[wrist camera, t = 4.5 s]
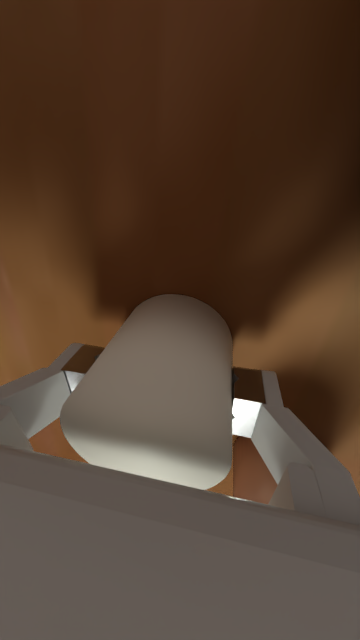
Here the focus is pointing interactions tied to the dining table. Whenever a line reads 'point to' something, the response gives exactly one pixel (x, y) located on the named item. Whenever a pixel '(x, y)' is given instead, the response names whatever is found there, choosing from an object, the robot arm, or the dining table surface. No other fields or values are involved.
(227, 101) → the dining table surface
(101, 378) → the white egg
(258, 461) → the brown egg
